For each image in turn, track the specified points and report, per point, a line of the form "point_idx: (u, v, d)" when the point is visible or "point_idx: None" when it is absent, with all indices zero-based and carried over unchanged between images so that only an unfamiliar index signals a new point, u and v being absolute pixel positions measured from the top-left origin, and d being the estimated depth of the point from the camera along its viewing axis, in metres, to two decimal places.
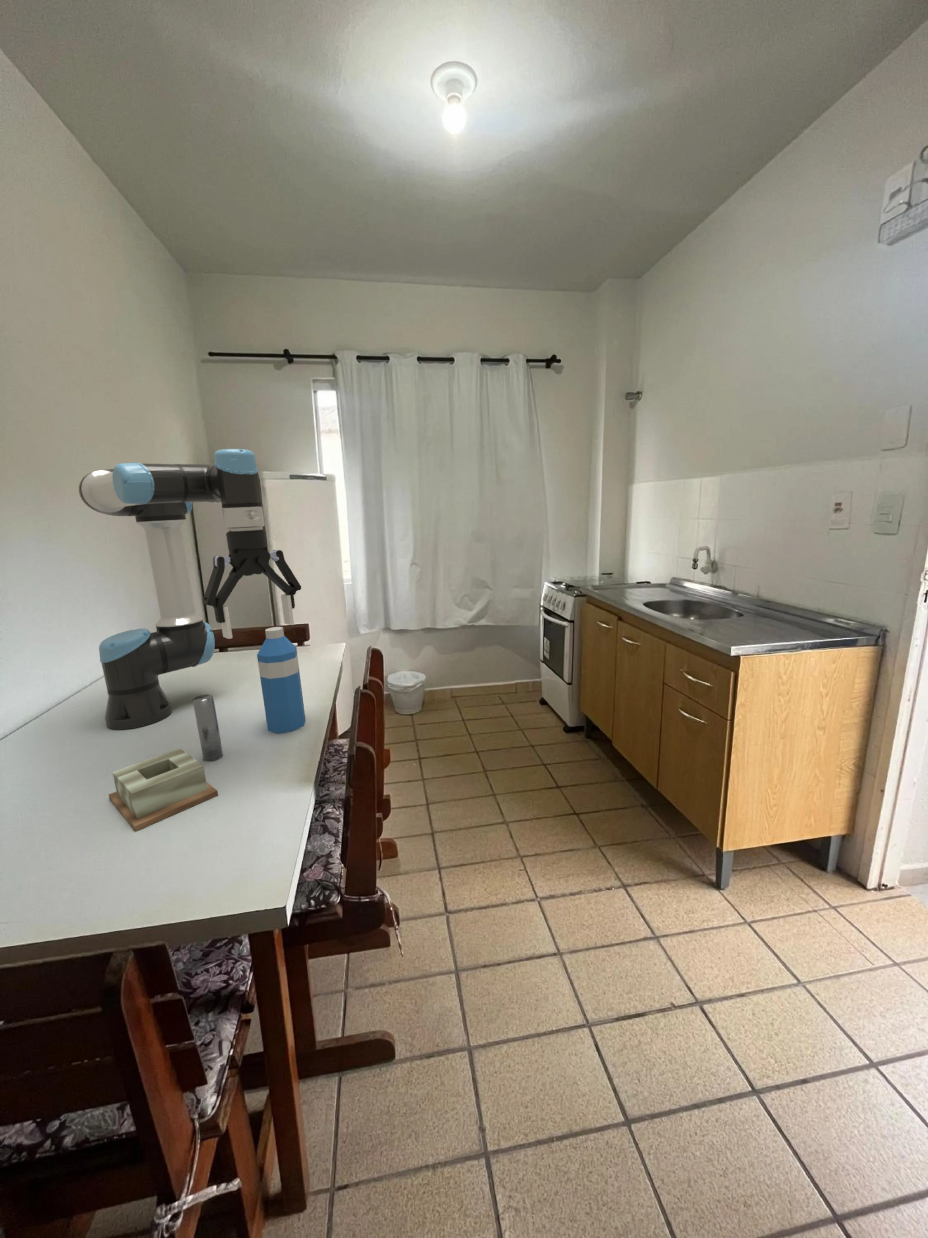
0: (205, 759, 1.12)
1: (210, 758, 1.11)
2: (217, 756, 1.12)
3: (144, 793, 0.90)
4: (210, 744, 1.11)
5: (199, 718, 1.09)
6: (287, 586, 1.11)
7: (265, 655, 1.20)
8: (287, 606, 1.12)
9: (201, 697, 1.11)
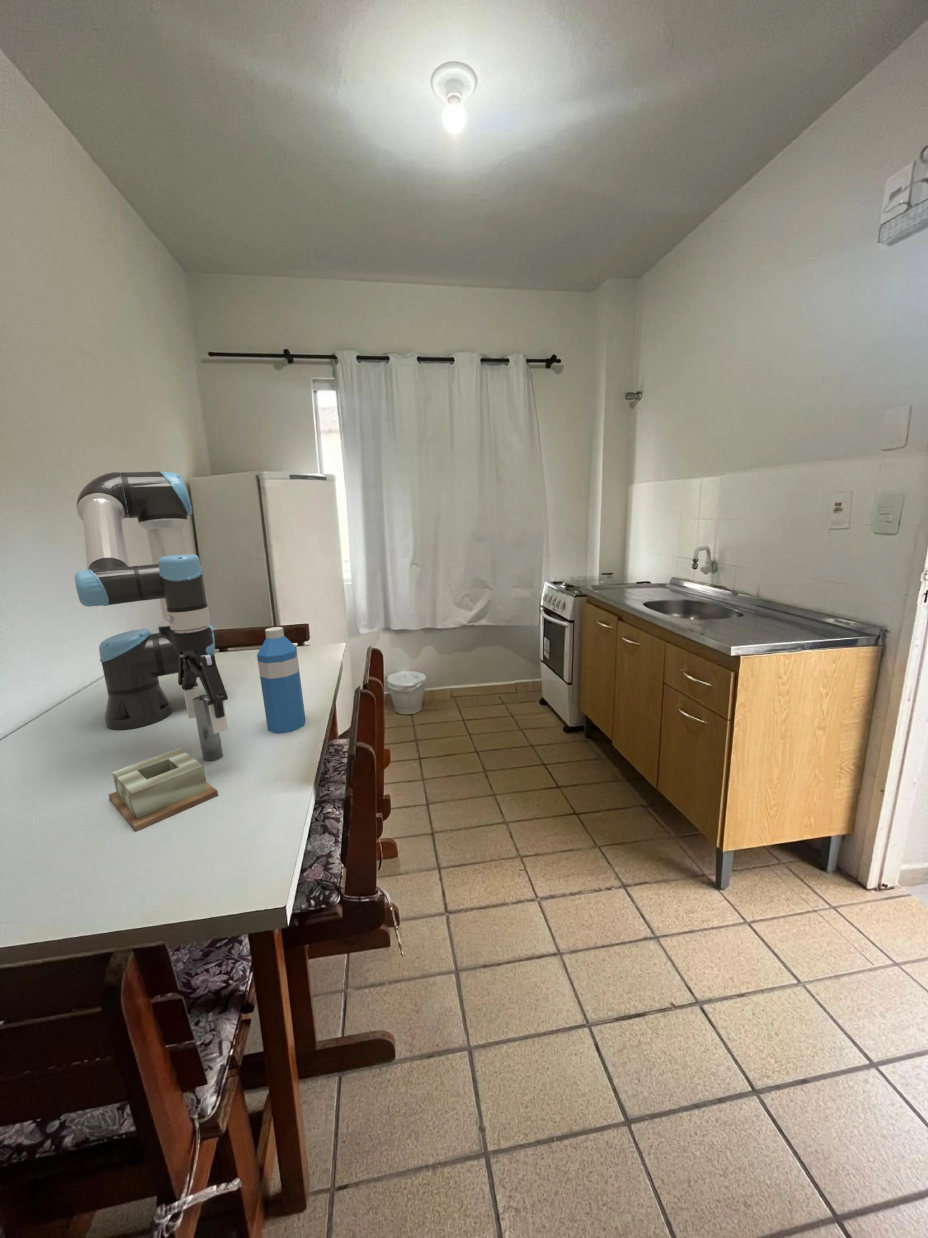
0: (205, 759, 1.12)
1: (210, 758, 1.11)
2: (217, 756, 1.12)
3: (144, 793, 0.90)
4: (210, 744, 1.11)
5: (199, 718, 1.09)
6: (208, 694, 1.04)
7: (265, 655, 1.20)
8: None
9: (201, 697, 1.11)
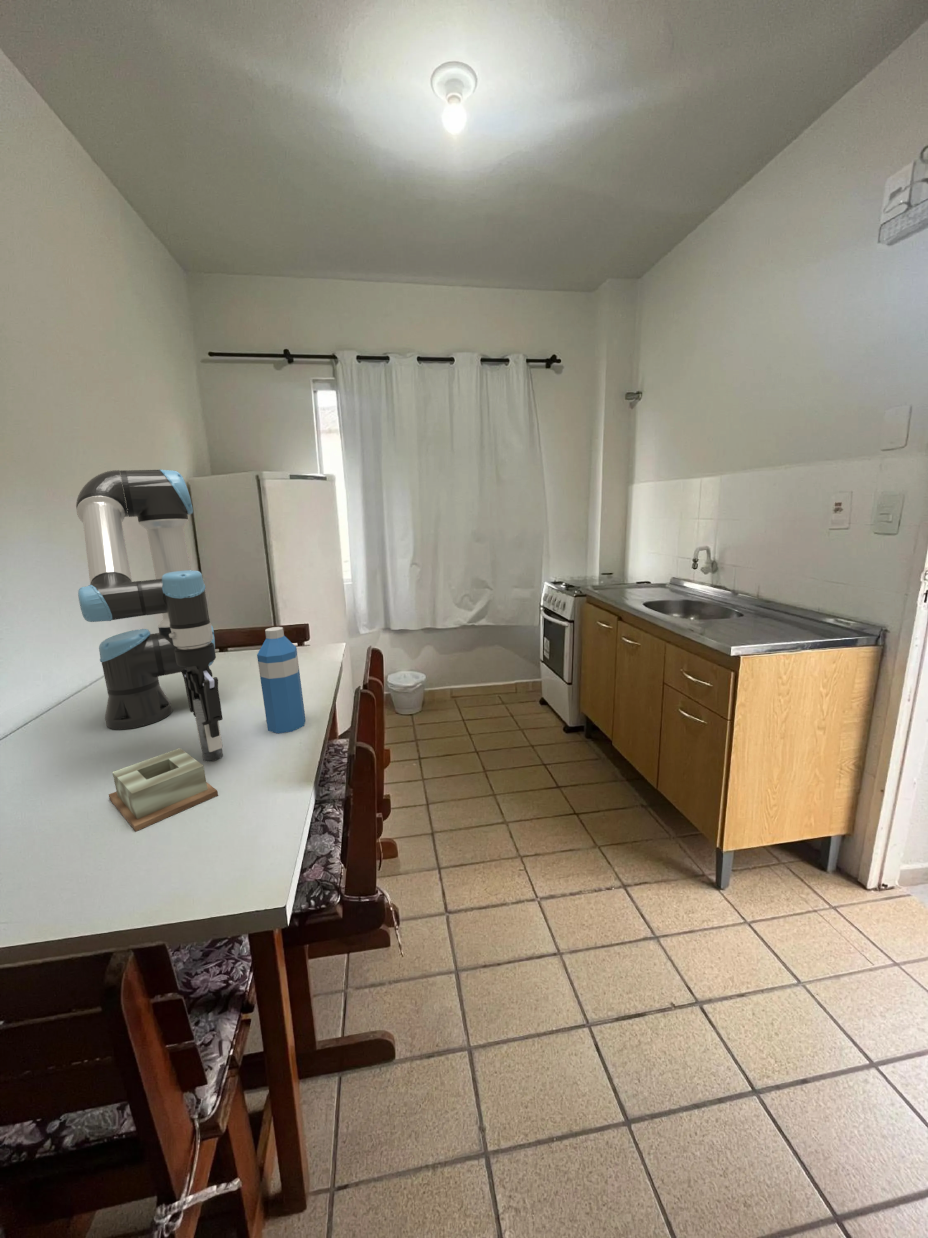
0: (205, 759, 1.12)
1: (210, 758, 1.11)
2: (217, 756, 1.12)
3: (144, 793, 0.90)
4: None
5: (199, 718, 1.09)
6: (205, 714, 1.08)
7: (265, 655, 1.20)
8: None
9: None
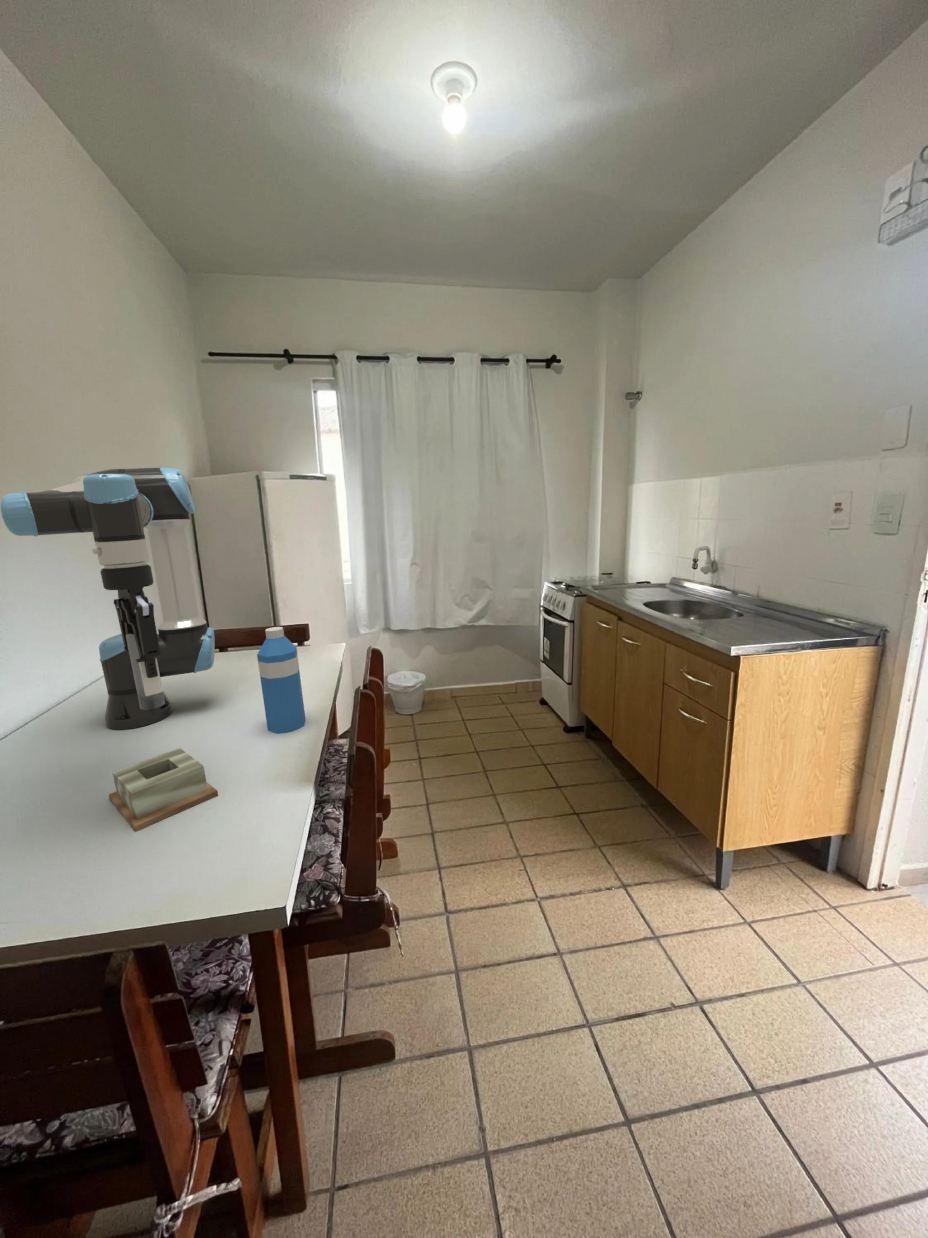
0: (142, 707, 0.94)
1: (148, 705, 0.93)
2: (157, 703, 0.94)
3: (144, 793, 0.90)
4: None
5: (134, 656, 0.91)
6: (139, 649, 0.90)
7: (265, 655, 1.20)
8: None
9: None
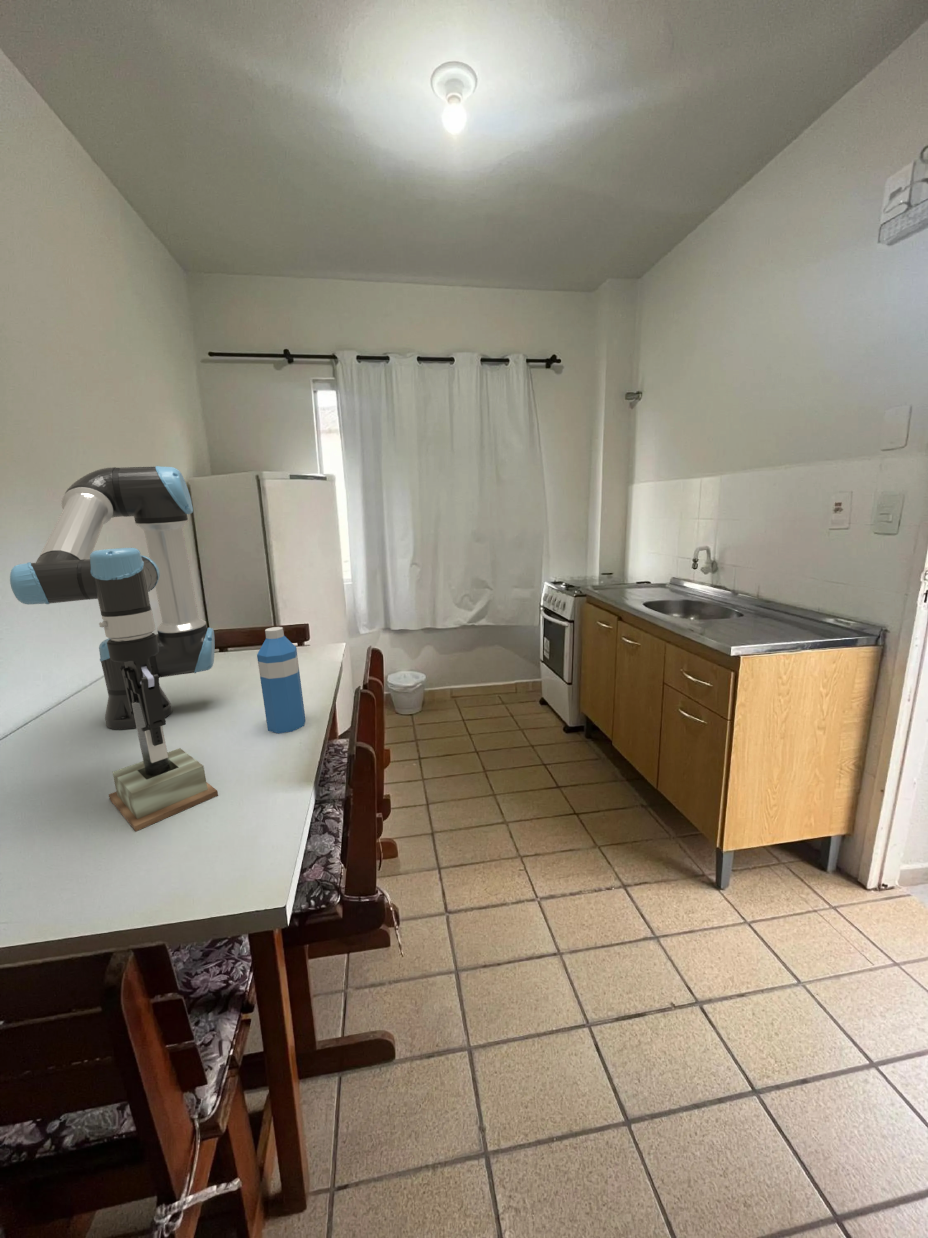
0: (147, 773, 0.95)
1: (153, 772, 0.95)
2: (162, 769, 0.96)
3: (144, 793, 0.90)
4: None
5: (139, 725, 0.93)
6: (144, 718, 0.91)
7: (265, 655, 1.20)
8: None
9: None
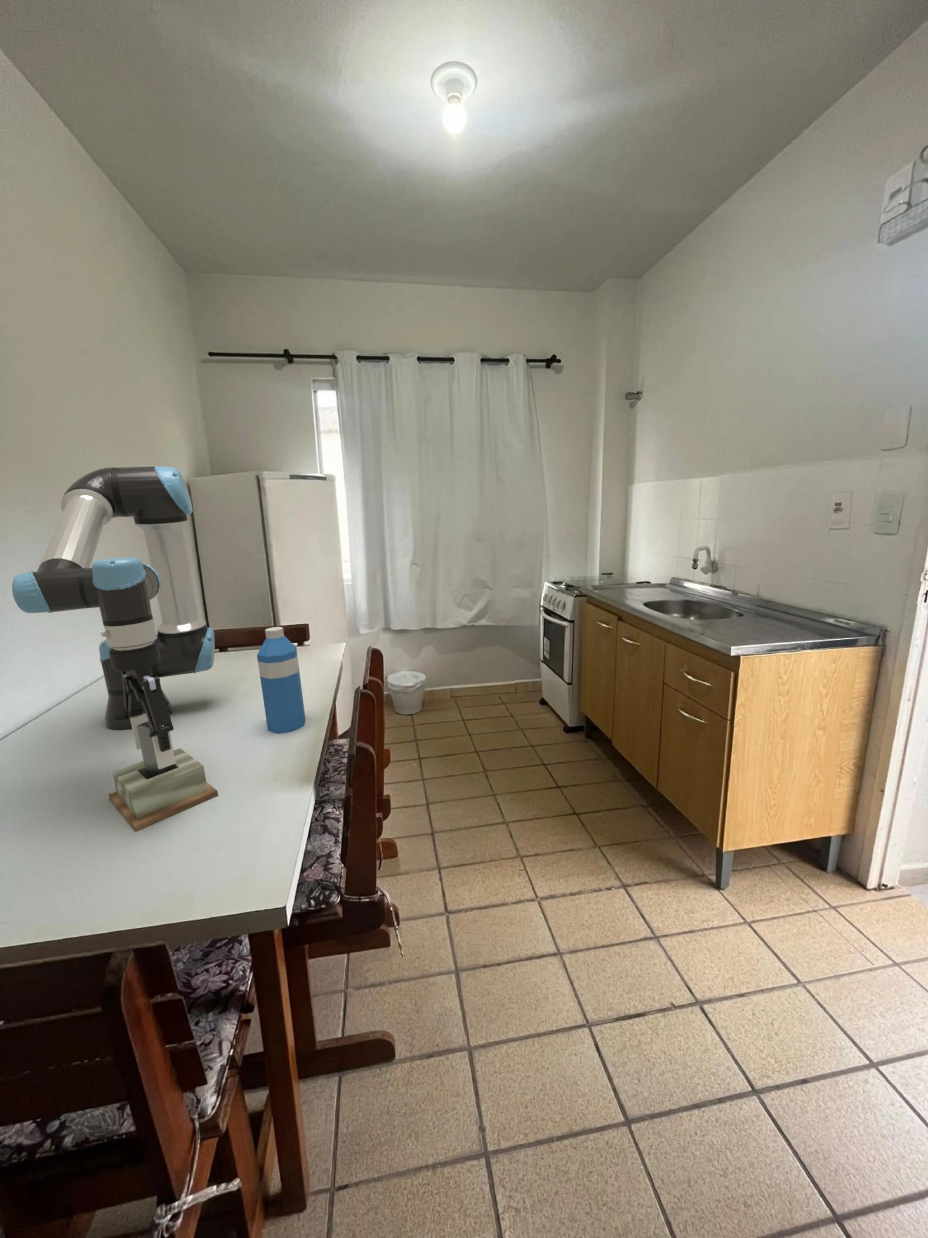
0: None
1: None
2: None
3: (144, 793, 0.90)
4: None
5: (144, 748, 0.94)
6: (151, 724, 0.89)
7: (265, 655, 1.20)
8: None
9: (148, 723, 0.95)
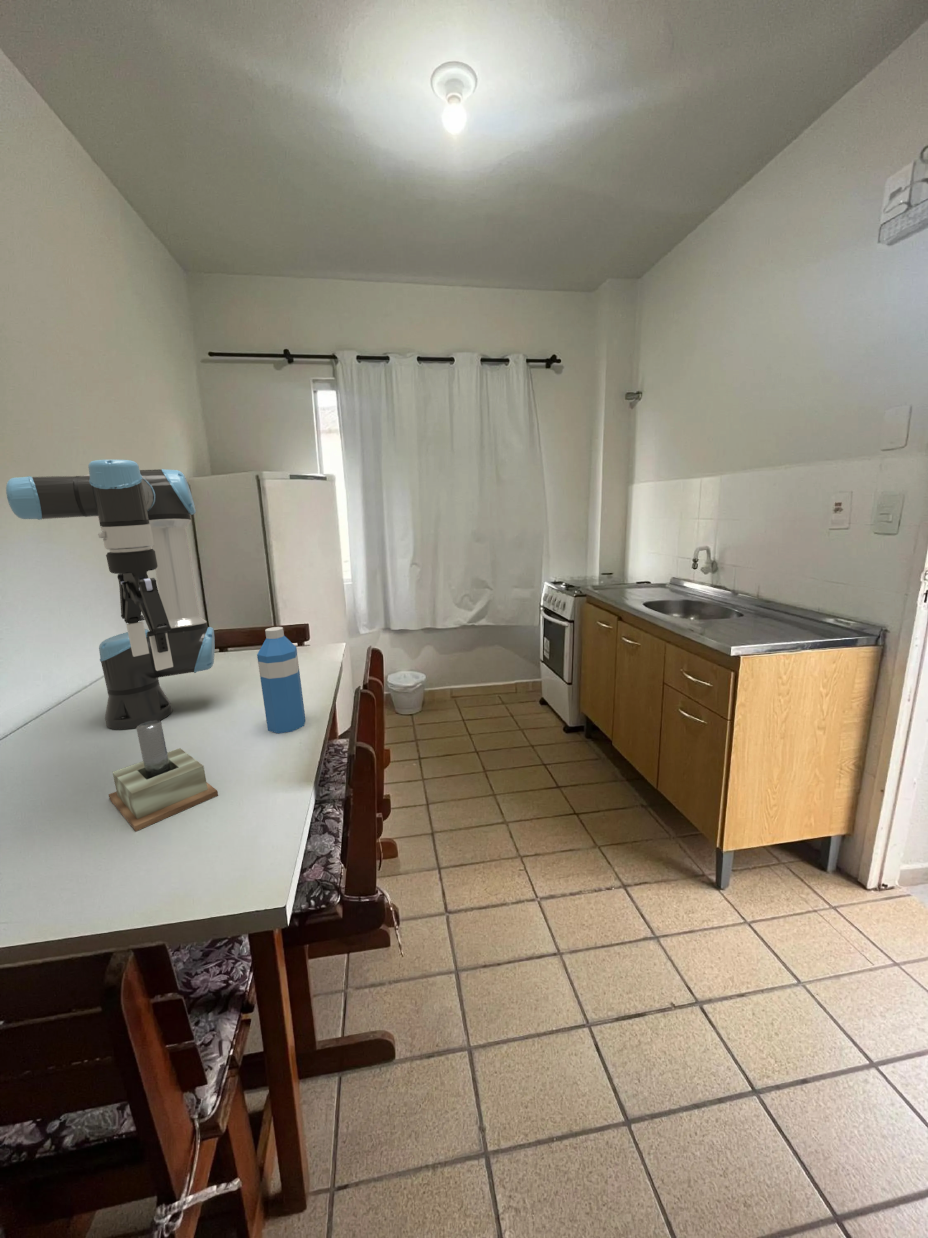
0: None
1: None
2: None
3: (144, 793, 0.90)
4: None
5: (144, 749, 0.94)
6: (148, 624, 0.90)
7: (265, 655, 1.20)
8: None
9: (147, 724, 0.95)
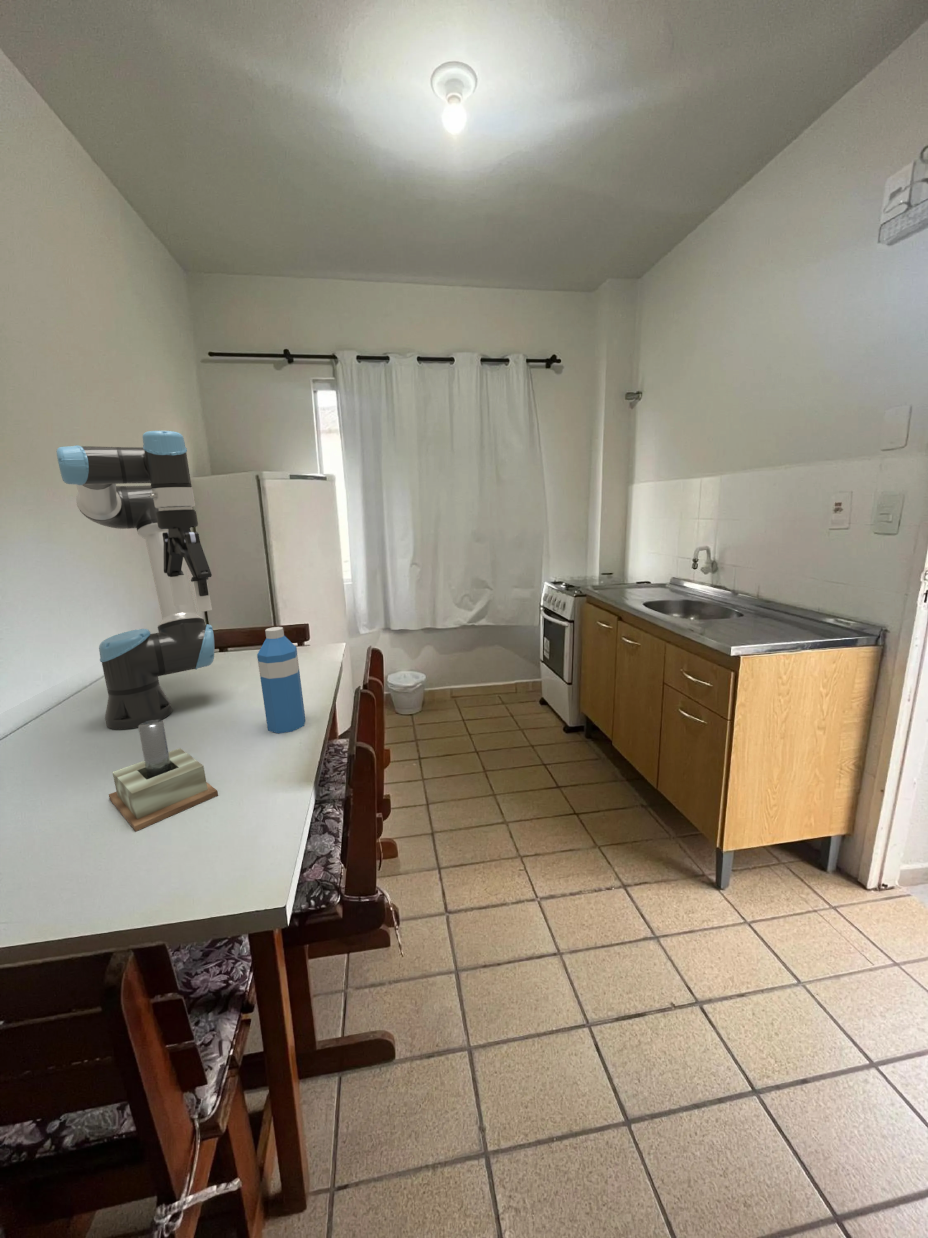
0: None
1: None
2: None
3: (144, 793, 0.90)
4: None
5: (146, 747, 0.94)
6: (192, 571, 1.05)
7: (265, 655, 1.20)
8: None
9: (149, 722, 0.96)
